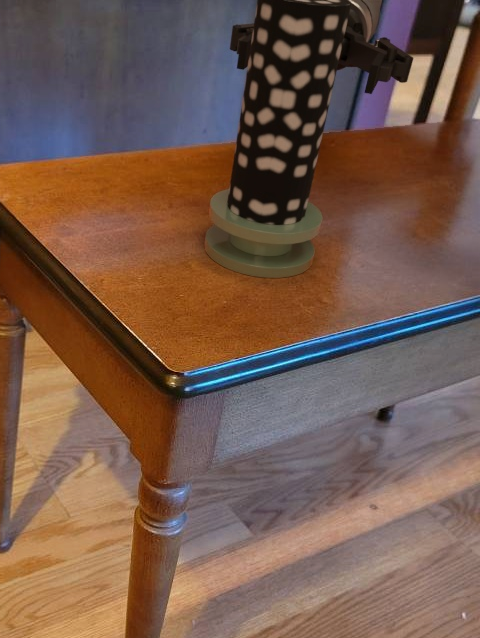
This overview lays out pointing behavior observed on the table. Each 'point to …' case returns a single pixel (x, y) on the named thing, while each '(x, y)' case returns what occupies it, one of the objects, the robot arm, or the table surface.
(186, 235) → the table surface
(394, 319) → the table surface
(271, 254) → the stand
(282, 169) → the spotted tube
